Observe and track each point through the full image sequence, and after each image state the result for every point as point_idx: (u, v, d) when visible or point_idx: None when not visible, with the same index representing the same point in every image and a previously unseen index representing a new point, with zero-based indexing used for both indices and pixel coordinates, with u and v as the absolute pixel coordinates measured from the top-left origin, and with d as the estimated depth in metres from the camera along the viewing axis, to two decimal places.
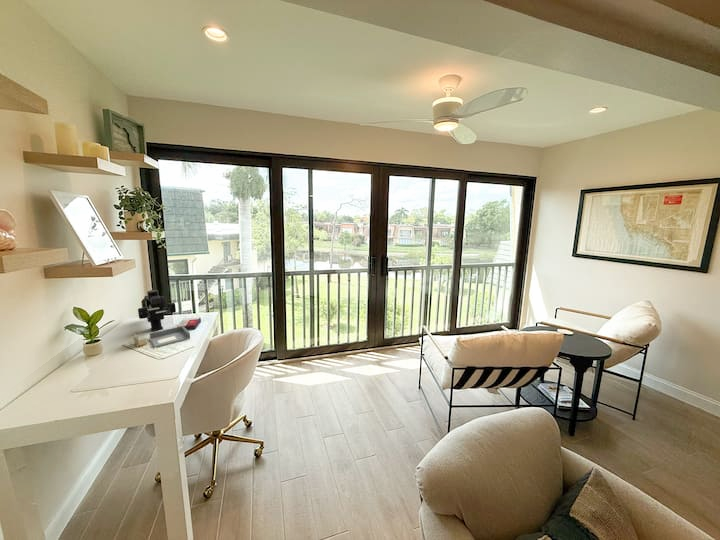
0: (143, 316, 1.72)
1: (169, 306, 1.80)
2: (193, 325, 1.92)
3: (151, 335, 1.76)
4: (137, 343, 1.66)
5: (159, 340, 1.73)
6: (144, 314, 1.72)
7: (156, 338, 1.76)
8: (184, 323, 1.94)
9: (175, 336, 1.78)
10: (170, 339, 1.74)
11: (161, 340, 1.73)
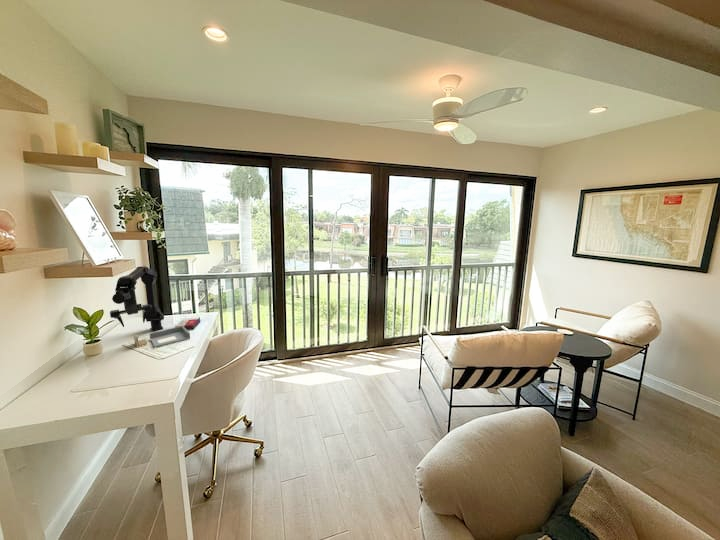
0: None
1: (145, 313, 1.68)
2: (191, 325, 1.91)
3: (151, 335, 1.76)
4: (137, 343, 1.66)
5: (159, 340, 1.73)
6: None
7: (156, 338, 1.76)
8: (183, 323, 1.94)
9: (175, 336, 1.78)
10: (170, 339, 1.74)
11: (161, 340, 1.73)
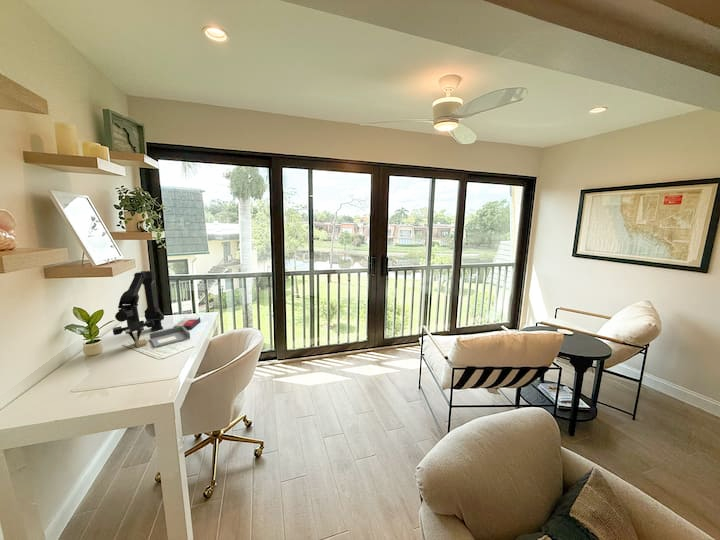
0: None
1: (140, 331, 1.67)
2: (189, 326, 1.91)
3: (151, 335, 1.76)
4: (137, 343, 1.66)
5: (159, 340, 1.73)
6: None
7: (156, 338, 1.76)
8: (182, 323, 1.94)
9: (175, 336, 1.78)
10: (170, 339, 1.74)
11: (161, 340, 1.73)
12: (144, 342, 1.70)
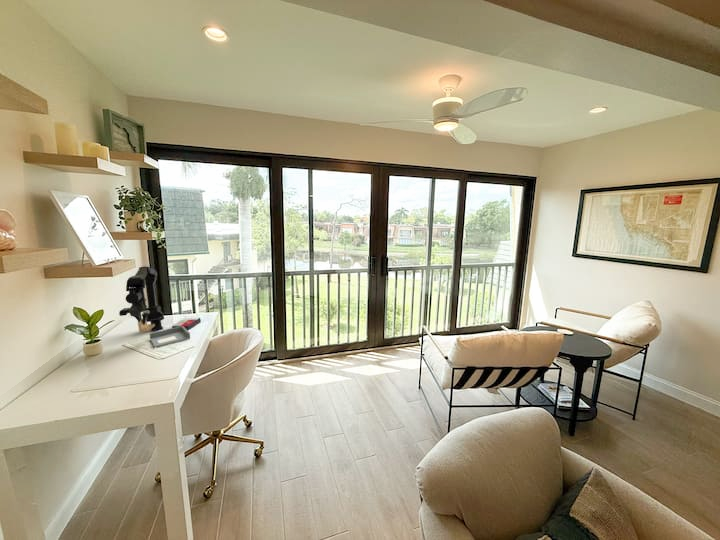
0: None
1: (144, 315, 1.66)
2: (187, 326, 1.91)
3: (151, 335, 1.76)
4: (140, 327, 1.65)
5: (159, 340, 1.73)
6: None
7: (156, 338, 1.76)
8: (180, 323, 1.94)
9: (175, 336, 1.78)
10: (170, 339, 1.74)
11: (161, 340, 1.73)
12: (148, 327, 1.68)
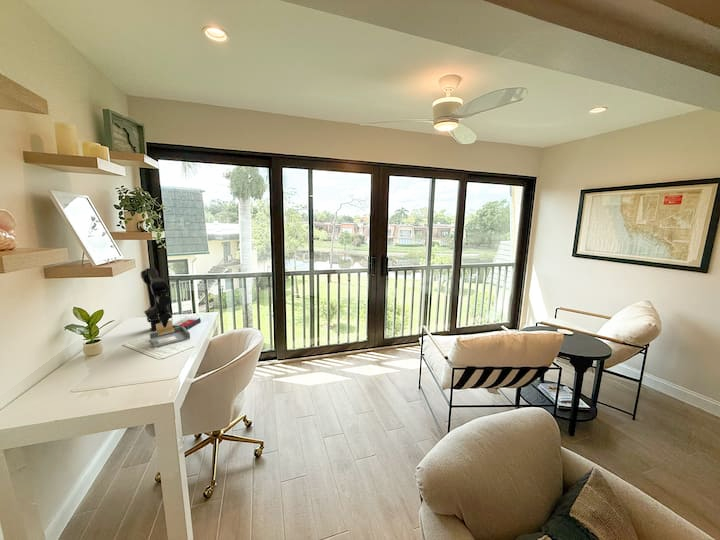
0: None
1: (160, 319, 1.70)
2: (185, 326, 1.90)
3: (151, 335, 1.76)
4: (156, 329, 1.71)
5: (159, 340, 1.73)
6: None
7: (156, 338, 1.76)
8: (180, 323, 1.95)
9: (175, 336, 1.78)
10: (170, 339, 1.74)
11: (161, 340, 1.73)
12: (162, 332, 1.70)
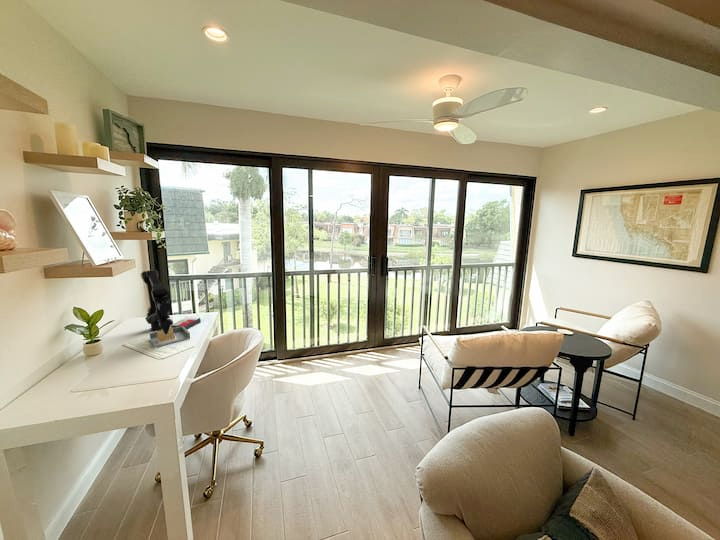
0: None
1: (161, 326, 1.70)
2: (184, 326, 1.90)
3: (151, 335, 1.76)
4: (157, 336, 1.72)
5: None
6: None
7: (156, 338, 1.76)
8: (179, 322, 1.95)
9: (175, 336, 1.78)
10: None
11: None
12: (163, 339, 1.71)
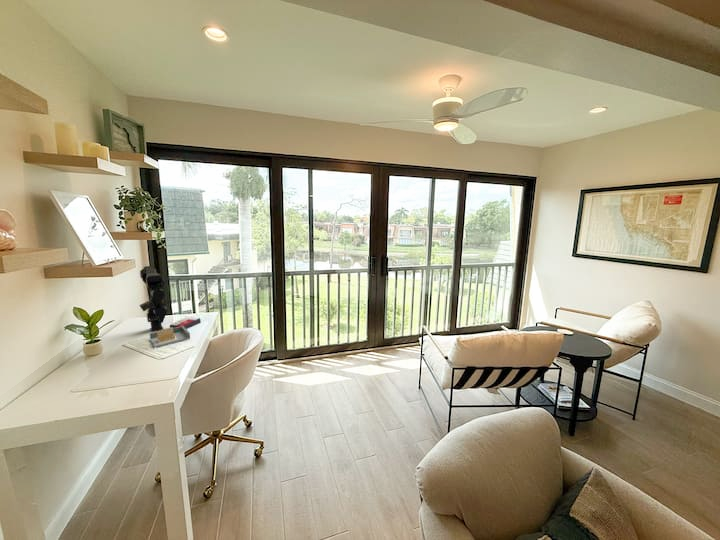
0: None
1: (156, 315, 1.68)
2: None
3: (151, 335, 1.76)
4: (157, 336, 1.72)
5: None
6: None
7: (156, 338, 1.76)
8: (179, 322, 1.96)
9: (175, 336, 1.78)
10: None
11: None
12: (163, 339, 1.71)
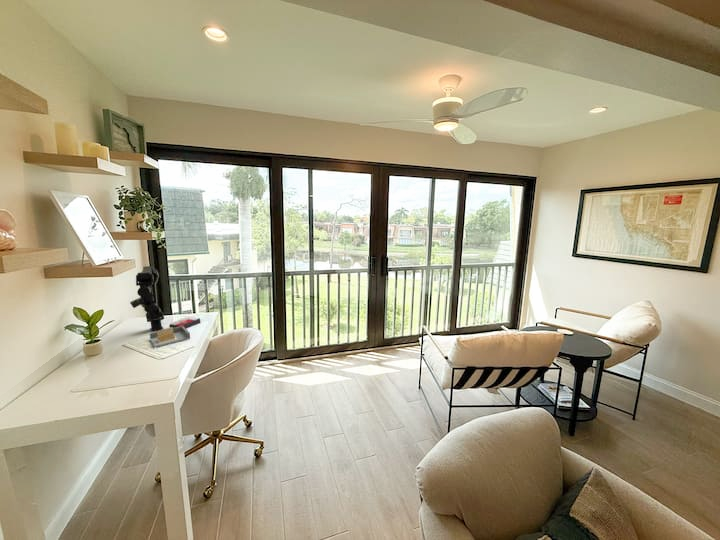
0: None
1: (146, 311, 1.70)
2: (179, 326, 1.90)
3: (151, 335, 1.76)
4: (157, 336, 1.72)
5: None
6: None
7: (156, 338, 1.76)
8: (178, 322, 1.96)
9: (175, 336, 1.78)
10: None
11: None
12: (163, 339, 1.71)
